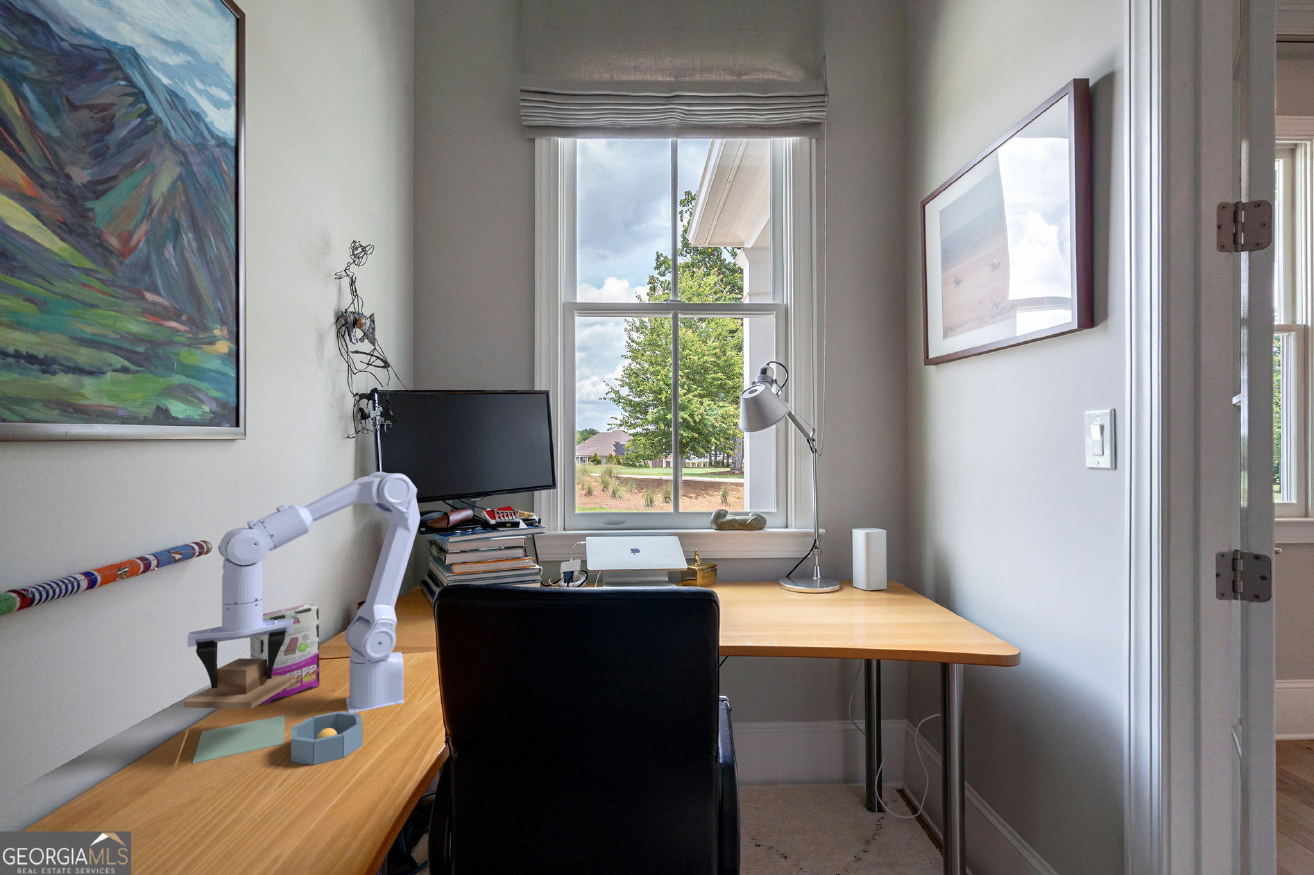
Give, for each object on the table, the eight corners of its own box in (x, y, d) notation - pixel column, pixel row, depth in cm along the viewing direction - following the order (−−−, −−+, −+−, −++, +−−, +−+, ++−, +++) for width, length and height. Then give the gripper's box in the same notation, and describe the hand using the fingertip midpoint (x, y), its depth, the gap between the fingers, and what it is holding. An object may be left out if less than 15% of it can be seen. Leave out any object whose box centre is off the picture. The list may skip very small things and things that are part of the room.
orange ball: (336, 741, 101) (336, 723, 101) (338, 749, 98) (338, 730, 98) (316, 746, 99) (316, 727, 99) (316, 754, 97) (316, 735, 97)
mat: (284, 718, 110) (284, 715, 110) (283, 747, 100) (283, 743, 100) (202, 735, 104) (202, 731, 104) (192, 767, 94) (192, 763, 94)
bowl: (358, 730, 106) (358, 707, 106) (364, 756, 97) (364, 730, 97) (290, 745, 101) (291, 721, 101) (290, 773, 92) (291, 747, 92)
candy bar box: (307, 681, 128) (307, 602, 128) (320, 686, 125) (320, 606, 125) (248, 700, 118) (248, 615, 118) (261, 706, 115) (261, 619, 116)
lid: (295, 681, 107) (295, 653, 107) (250, 708, 96) (251, 677, 96) (234, 680, 108) (234, 652, 108) (183, 707, 97) (183, 676, 97)
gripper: (293, 590, 110) (292, 666, 109) (192, 600, 102) (191, 682, 102) (293, 598, 103) (293, 679, 103) (185, 610, 96) (185, 697, 96)
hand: (242, 681), depth 102 cm, fingers closed on lid, 7 cm apart
